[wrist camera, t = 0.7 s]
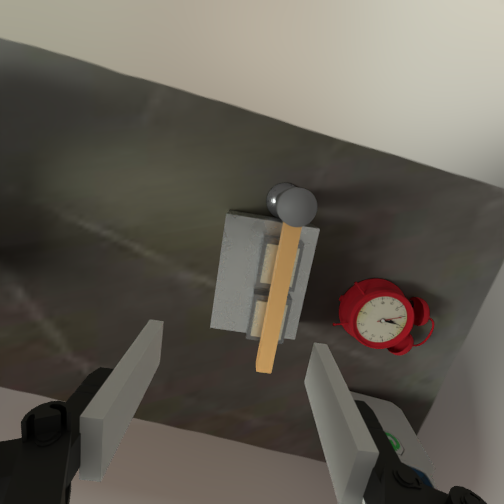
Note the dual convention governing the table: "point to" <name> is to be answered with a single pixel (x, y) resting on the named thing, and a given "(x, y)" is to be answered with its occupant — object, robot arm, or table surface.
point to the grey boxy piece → (258, 271)
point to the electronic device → (401, 437)
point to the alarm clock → (382, 315)
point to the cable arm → (283, 267)
